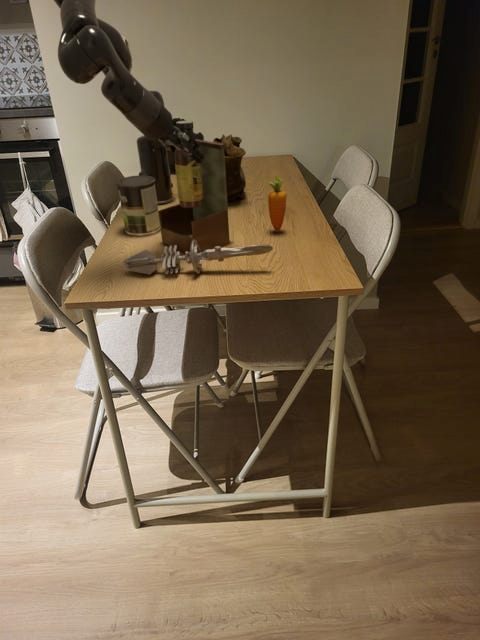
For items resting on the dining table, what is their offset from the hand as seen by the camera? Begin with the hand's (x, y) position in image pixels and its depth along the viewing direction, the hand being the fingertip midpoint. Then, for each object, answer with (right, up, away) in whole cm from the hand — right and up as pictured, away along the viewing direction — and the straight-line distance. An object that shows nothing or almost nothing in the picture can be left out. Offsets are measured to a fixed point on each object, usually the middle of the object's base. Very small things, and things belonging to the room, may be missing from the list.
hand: (192, 158), depth 115 cm
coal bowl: (-12, +22, +77) cm, 81 cm away
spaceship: (+2, -28, -4) cm, 29 cm away
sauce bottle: (-1, -10, +5) cm, 12 cm away
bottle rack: (0, -19, +11) cm, 22 cm away
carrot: (+22, -16, +15) cm, 31 cm away
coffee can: (-16, -14, +21) cm, 30 cm away
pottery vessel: (+8, +2, +43) cm, 44 cm away
